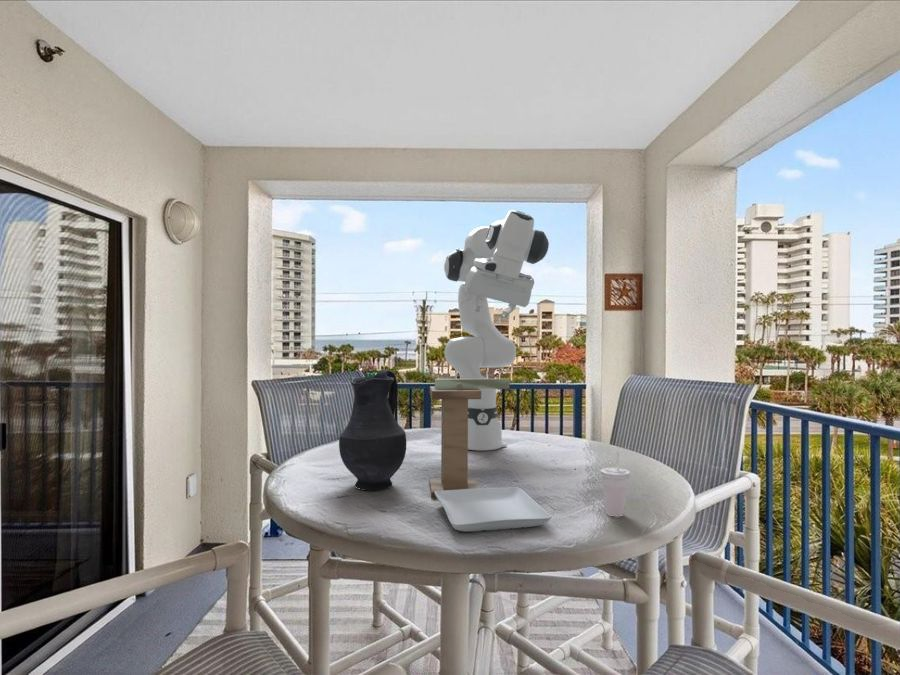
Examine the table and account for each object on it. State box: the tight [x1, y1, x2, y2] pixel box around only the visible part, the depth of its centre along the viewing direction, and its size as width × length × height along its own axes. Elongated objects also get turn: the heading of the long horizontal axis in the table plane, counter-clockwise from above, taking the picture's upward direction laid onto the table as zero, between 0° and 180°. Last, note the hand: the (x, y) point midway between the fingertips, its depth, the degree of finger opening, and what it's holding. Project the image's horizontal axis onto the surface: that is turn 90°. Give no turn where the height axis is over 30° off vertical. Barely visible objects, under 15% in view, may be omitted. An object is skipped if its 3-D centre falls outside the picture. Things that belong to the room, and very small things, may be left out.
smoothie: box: [599, 450, 631, 516], centre depth 114 cm, size 6×6×14 cm
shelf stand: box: [428, 383, 481, 499], centre depth 131 cm, size 12×12×28 cm
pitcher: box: [338, 369, 407, 491], centre depth 136 cm, size 17×21×30 cm
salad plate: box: [435, 486, 552, 532], centre depth 113 cm, size 21×21×3 cm
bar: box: [434, 378, 511, 390], centre depth 131 cm, size 2×19×2 cm, turn 95°
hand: (490, 314), depth 149 cm, fingers open, 8 cm apart
